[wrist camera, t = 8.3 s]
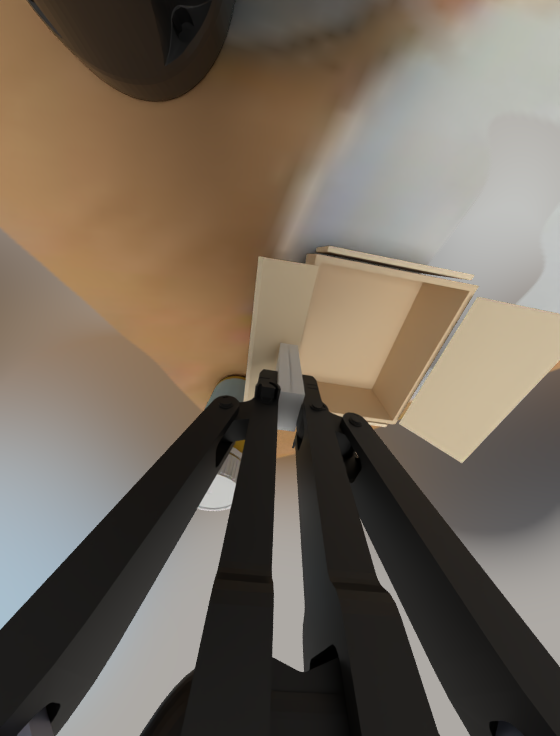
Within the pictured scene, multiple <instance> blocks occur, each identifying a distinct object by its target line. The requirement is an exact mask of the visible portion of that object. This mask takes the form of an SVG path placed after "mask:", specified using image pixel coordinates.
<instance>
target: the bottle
mask: <svg viewBox="0 0 560 736" xmlns="http://www.w3.org/2000/svg"><path fill="white" fill-rule="evenodd" d="M245 382H246V378H244V377H240V376H231V377H227V378H225V379H223V380H221V381H220V382H219V383H218V384H217V386H216V387H215V389H214V391H213V393H212V395H211V397H210V399H209V401H208V403H207V405H206V408H207V407H208V406H209V404H210V403H211V402H212V401H213V400H214V399H216V398H217V397H219V396H224V395H229V396H233V397H235V398H236V399H237V400H238V401H239V402H243V401H244V392H245ZM206 408H205V409H206ZM244 443H245V440H240V441H236V442H235V445H234V446H233V448H232V450H231V451H230V453H229V455H228V457H227V458H226V460H225V462H224V463H223V465H222V467H221V469H220V470H219V472H218V474H217V475H216V477H215V479H214V481H213V482H212V484H211V486H210V487H209V489H208V491H207V493H206V494H205V496H204V498H203V499H202V501H201V503H200V505H199V506H198V508H197V509H201V510H207V511H220V510H221V511H222V510H226V509H229V508H231V505H232V500H233V495H234V491H235V486H236V481H237V476H238V472H239V467H240V462H241V457H242V452H243V448H244Z"/></svg>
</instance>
